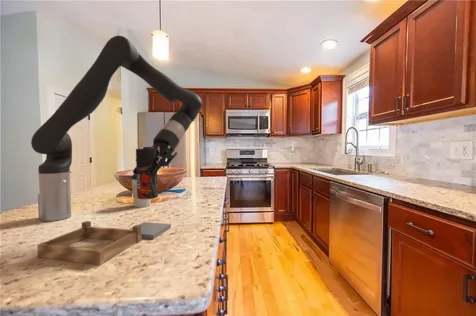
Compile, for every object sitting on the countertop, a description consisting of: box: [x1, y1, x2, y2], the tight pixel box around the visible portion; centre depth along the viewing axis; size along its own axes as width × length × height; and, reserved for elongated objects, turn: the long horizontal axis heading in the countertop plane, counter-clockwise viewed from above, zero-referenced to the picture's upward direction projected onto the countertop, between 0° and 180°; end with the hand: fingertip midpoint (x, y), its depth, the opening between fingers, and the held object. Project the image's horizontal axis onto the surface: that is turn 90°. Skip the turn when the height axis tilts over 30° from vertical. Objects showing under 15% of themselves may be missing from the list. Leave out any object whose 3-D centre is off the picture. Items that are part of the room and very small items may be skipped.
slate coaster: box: [128, 221, 172, 240], centre depth 74 cm, size 10×10×1 cm
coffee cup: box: [130, 173, 152, 208], centre depth 108 cm, size 9×9×15 cm
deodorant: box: [135, 148, 159, 200], centre depth 74 cm, size 6×6×15 cm
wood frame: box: [36, 220, 143, 266], centre depth 62 cm, size 19×14×4 cm
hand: (142, 174), depth 72 cm, fingers closed on deodorant, 6 cm apart
